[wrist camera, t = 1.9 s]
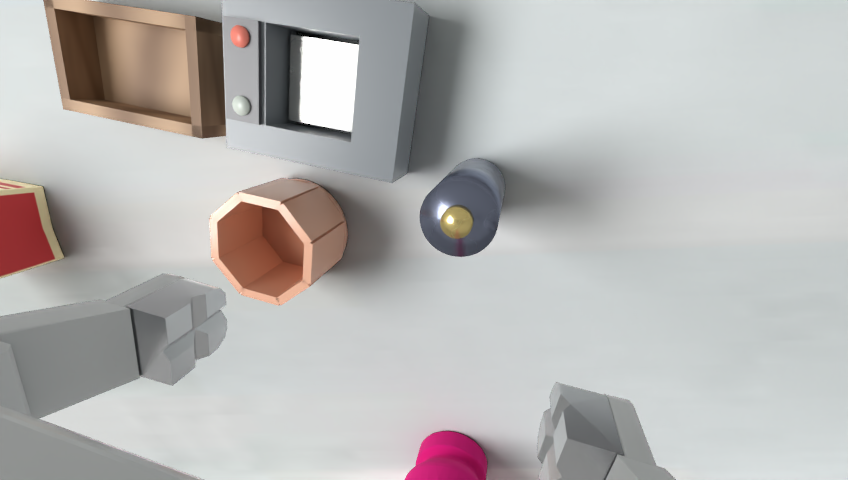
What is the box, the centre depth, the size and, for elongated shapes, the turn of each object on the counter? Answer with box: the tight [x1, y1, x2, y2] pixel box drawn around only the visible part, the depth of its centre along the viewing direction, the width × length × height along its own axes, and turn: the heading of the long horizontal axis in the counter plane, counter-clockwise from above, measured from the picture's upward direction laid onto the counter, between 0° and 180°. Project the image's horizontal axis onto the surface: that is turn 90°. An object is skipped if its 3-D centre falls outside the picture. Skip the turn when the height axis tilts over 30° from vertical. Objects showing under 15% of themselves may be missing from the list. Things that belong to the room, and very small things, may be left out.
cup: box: [209, 178, 348, 305], centre depth 29 cm, size 8×8×6 cm
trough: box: [43, 0, 226, 138], centre depth 28 cm, size 12×8×3 cm, turn 81°
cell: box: [420, 159, 505, 257], centre depth 23 cm, size 4×4×9 cm
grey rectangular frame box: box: [221, 0, 429, 183], centre depth 25 cm, size 12×10×4 cm
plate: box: [289, 35, 359, 132], centre depth 26 cm, size 5×5×1 cm
